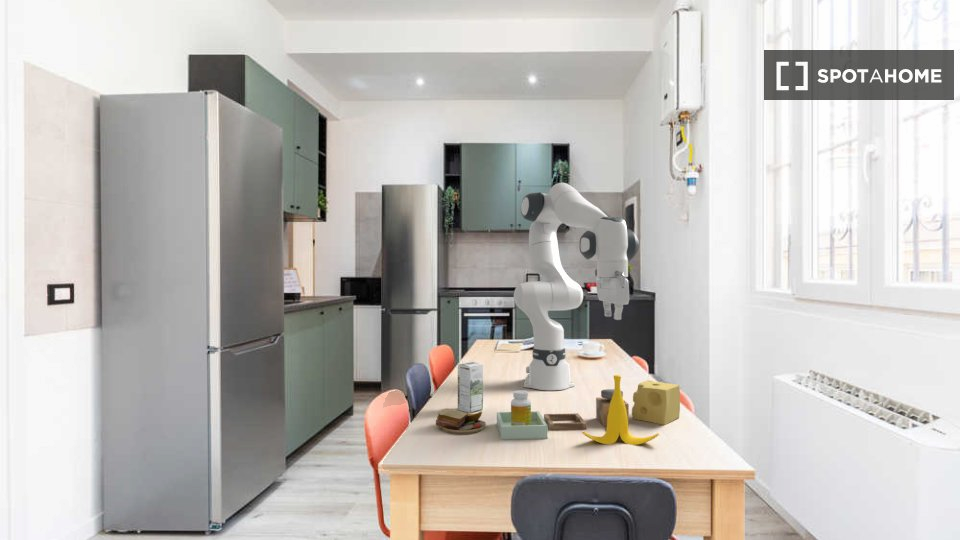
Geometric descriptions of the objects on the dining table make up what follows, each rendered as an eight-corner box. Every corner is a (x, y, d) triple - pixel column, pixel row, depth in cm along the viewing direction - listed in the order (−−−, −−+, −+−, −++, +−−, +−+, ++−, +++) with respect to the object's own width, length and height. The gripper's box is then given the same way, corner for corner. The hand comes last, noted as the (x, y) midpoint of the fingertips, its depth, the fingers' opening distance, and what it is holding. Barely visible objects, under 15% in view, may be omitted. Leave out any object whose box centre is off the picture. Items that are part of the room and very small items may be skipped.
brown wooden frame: (544, 419, 157) (544, 414, 157) (578, 418, 158) (578, 413, 158) (550, 430, 147) (550, 424, 147) (586, 429, 148) (586, 423, 148)
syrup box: (470, 406, 172) (470, 361, 172) (483, 410, 168) (483, 363, 168) (457, 410, 168) (456, 363, 168) (470, 413, 164) (470, 366, 164)
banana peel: (580, 445, 135) (580, 378, 135) (609, 426, 151) (609, 366, 151) (646, 459, 126) (646, 387, 126) (670, 437, 141) (670, 373, 141)
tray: (496, 423, 154) (496, 412, 154) (538, 422, 154) (538, 411, 154) (501, 439, 140) (501, 426, 140) (547, 438, 140) (547, 425, 140)
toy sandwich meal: (473, 438, 142) (473, 420, 142) (428, 431, 147) (428, 414, 147) (492, 425, 153) (492, 408, 153) (450, 419, 159) (450, 403, 159)
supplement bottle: (529, 431, 144) (529, 394, 144) (509, 429, 145) (509, 393, 145) (532, 425, 149) (531, 389, 149) (512, 424, 150) (512, 389, 150)
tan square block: (596, 418, 159) (596, 388, 159) (619, 417, 159) (619, 388, 159) (603, 426, 151) (603, 395, 151) (628, 425, 151) (628, 394, 151)
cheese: (631, 419, 158) (631, 384, 158) (648, 411, 166) (648, 379, 165) (666, 426, 151) (665, 390, 150) (681, 418, 158) (681, 383, 158)
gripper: (634, 271, 150) (635, 321, 150) (612, 270, 170) (613, 314, 170) (612, 271, 149) (612, 321, 150) (593, 271, 170) (593, 315, 170)
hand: (612, 318), depth 160 cm, fingers open, 8 cm apart
